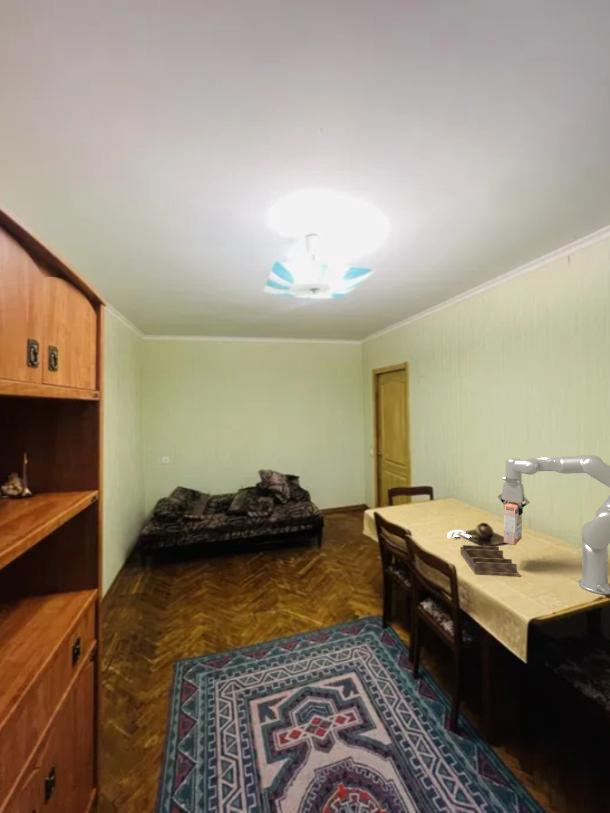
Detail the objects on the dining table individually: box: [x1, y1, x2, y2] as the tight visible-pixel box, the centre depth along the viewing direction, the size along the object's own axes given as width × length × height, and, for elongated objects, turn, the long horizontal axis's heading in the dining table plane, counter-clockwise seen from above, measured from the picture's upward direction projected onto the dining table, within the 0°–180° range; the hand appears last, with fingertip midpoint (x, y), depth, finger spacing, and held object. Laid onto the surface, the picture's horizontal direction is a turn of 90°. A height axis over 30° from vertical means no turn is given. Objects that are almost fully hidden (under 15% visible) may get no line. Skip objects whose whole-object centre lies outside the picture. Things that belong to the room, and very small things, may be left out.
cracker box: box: [503, 501, 523, 546], centre depth 186 cm, size 14×6×21 cm, turn 134°
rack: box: [460, 544, 521, 578], centre depth 188 cm, size 22×24×6 cm
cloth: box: [446, 529, 473, 540], centre depth 230 cm, size 20×22×2 cm
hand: (513, 512), depth 185 cm, fingers closed on cracker box, 6 cm apart
